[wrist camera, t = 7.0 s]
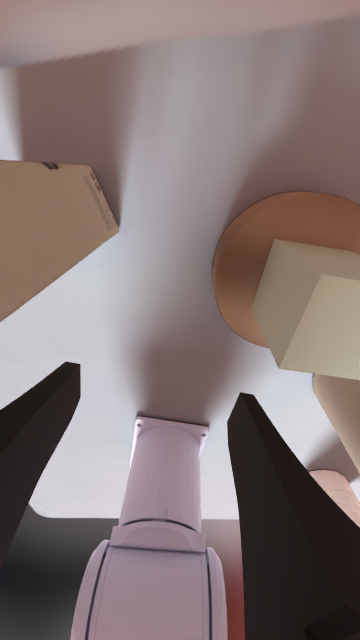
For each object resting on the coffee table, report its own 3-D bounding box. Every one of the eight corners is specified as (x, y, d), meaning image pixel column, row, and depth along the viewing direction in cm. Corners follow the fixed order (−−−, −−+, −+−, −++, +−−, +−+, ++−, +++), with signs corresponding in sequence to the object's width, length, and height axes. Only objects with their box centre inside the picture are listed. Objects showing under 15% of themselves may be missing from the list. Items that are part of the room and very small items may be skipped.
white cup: (292, 465, 30) (332, 582, 21) (359, 466, 30) (429, 586, 21) (281, 498, 34) (311, 608, 25) (340, 500, 34) (392, 613, 25)
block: (317, 318, 17) (374, 382, 11) (251, 308, 16) (278, 368, 11) (350, 251, 14) (439, 292, 9) (274, 238, 14) (320, 274, 9)
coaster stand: (316, 336, 21) (334, 358, 18) (199, 315, 20) (200, 335, 18) (386, 207, 16) (424, 213, 13) (233, 176, 15) (241, 176, 13)
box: (91, 162, 15) (-176, 124, 4) (122, 233, 17) (-4, 334, 6) (20, 192, 16) (-346, 227, 5) (57, 256, 18) (-150, 378, 7)
